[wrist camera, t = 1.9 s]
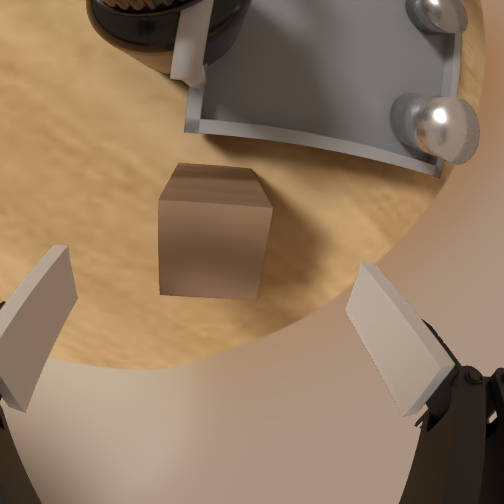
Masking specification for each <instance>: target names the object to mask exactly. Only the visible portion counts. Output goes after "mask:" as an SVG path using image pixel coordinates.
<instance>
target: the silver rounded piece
mask: <svg viewBox="0 0 504 504" xmlns="http://www.w3.org/2000/svg"><path fill="white" fill-rule="evenodd" d="M390 126H391V129H392V132H393V134H394V136H395V137H396V139H397V140H398V141H399V142H400V143H402V144H403V145H405V146H408V147H411V148H414V149H417V150H420V151H422V152H425V153H428V154H430V155H433V156H436V157H438V158H441V159H443V160H446V161H448V162H451V163H453V164H463V163H465V162H467V161H468V160H470V158H471V157H472V156H473V155H474V153H475V151H476V149H477V146H478V142H479V133H480V129H479V122H478V118H477V115H476V113H475V111H474V109H473V108H472V106H471V105H470V104H469V103H468V102H467V101H465V100H463V99H460V98H454V97H446V96H438V95H429V94H418V93H405V94H402V95H400V96H399V97H398V98H397V99H396V100H395V101H394V103H393V105H392V107H391V110H390Z"/></svg>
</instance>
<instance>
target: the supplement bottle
mask: <svg viewBox="0 0 504 504" xmlns="http://www.w3.org/2000/svg"><path fill="white" fill-rule="evenodd" d="M201 1H203V0H86V10H87V15H88V18H89V20H90V22H91V24H92V26H93V28H94V29H95V31H96V32H97V33H98V34H99V35H100V36H101V37H102V38H103V39H104V40H106V41H107V42H108V43H110V44H111V45H113V46H114V47H116V48H118V49H119V50H121V51H123V52H124V53H126V54H128V55H130V56H131V57H133V58H135V59H136V60H138V61H140V62H141V63H143V64H144V65H146V66H148V67H150V68H152V69H153V70H156V71H158V72H161V73H165V74H171V67H172V60H173V53H174V47H175V41H176V35H177V29H178V24H179V19H180V14H181V10H184V9H187V8H189V7H191V6H194V5H196V4H198V3H200V2H201ZM251 2H252V0H214V1H213V7H212V12H211V17H210V23H209V28H208V34H207V40H206V46H205V52H204V59H203V65H204V64H206V63H207V64H208V65H210V64H212V63H213V62H215V61H217V60H218V59H219V58H221V57H222V56H223V55H224V54H225V53H226V52H227V51H228V50H229V49H230V48H231V47H232V45H233V44H234V42H235V41H236V39H237V37H238V34H239V32H240V29H241V27H242V24H243V22H244V19H245V17H246V14H247V12H248V9H249V7H250V4H251Z"/></svg>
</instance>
